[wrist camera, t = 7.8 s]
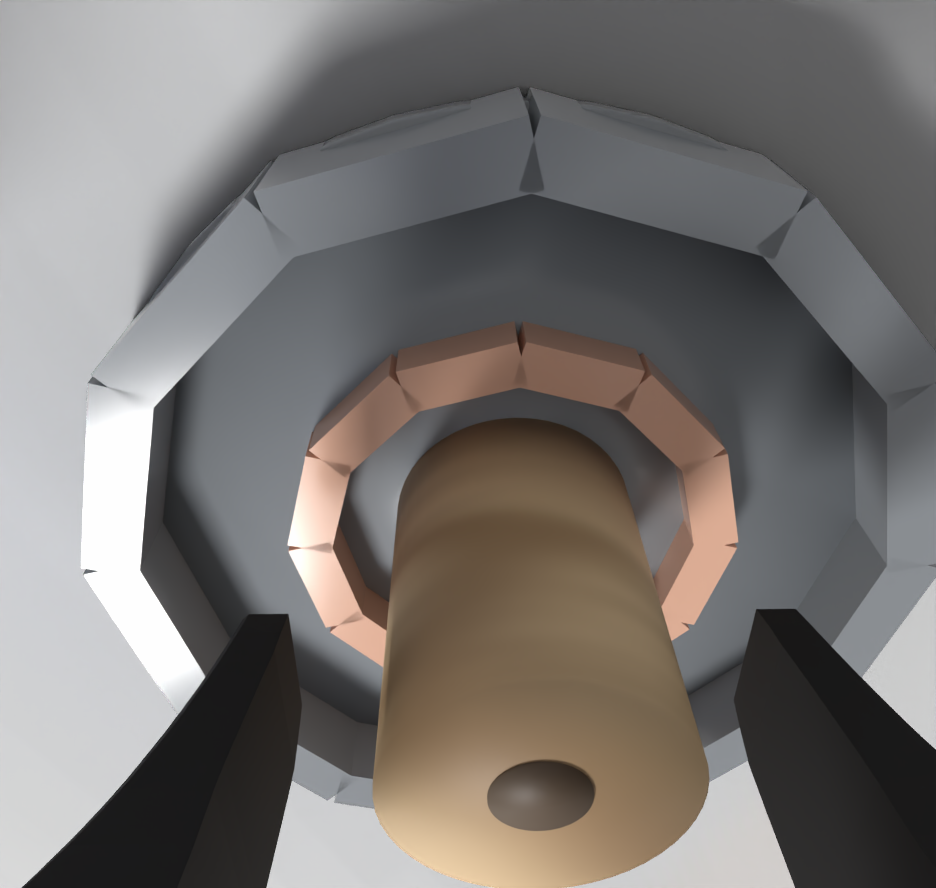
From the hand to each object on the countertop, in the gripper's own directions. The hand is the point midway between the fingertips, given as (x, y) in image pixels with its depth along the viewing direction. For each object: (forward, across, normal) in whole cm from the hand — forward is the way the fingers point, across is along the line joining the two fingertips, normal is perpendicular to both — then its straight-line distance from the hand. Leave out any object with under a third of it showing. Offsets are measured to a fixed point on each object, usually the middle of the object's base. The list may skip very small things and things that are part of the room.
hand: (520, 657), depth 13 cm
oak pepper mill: (+3, 0, 0) cm, 4 cm away
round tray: (+4, 0, 0) cm, 4 cm away
